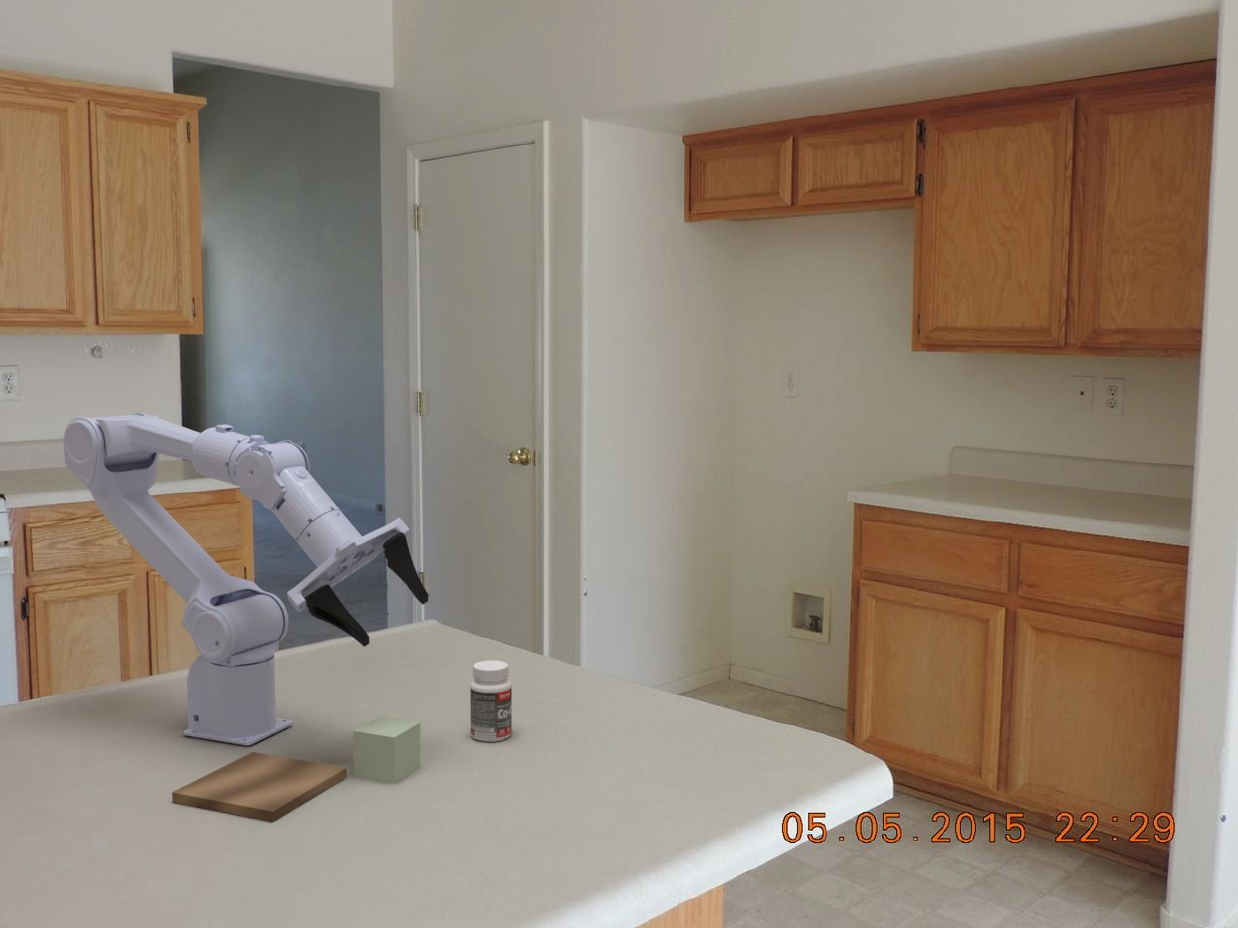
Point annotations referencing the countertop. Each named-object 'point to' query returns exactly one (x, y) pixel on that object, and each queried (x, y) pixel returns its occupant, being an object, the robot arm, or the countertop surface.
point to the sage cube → (386, 749)
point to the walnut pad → (260, 786)
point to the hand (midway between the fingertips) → (396, 620)
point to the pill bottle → (491, 702)
